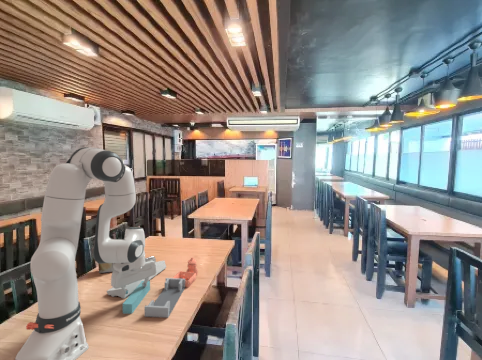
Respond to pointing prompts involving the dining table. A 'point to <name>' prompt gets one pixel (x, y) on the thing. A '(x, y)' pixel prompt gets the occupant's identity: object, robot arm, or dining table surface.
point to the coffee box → (106, 267)
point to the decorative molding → (133, 286)
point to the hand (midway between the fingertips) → (135, 290)
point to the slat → (135, 298)
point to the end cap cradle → (166, 299)
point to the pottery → (188, 273)
